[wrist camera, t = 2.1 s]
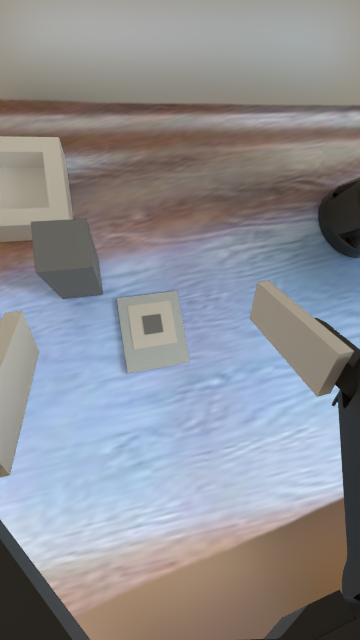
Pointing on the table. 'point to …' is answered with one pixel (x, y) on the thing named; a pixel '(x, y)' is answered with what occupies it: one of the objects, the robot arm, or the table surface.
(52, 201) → the socket base
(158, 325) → the card
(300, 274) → the table surface
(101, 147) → the table surface
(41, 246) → the charcoal pillar
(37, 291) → the table surface
